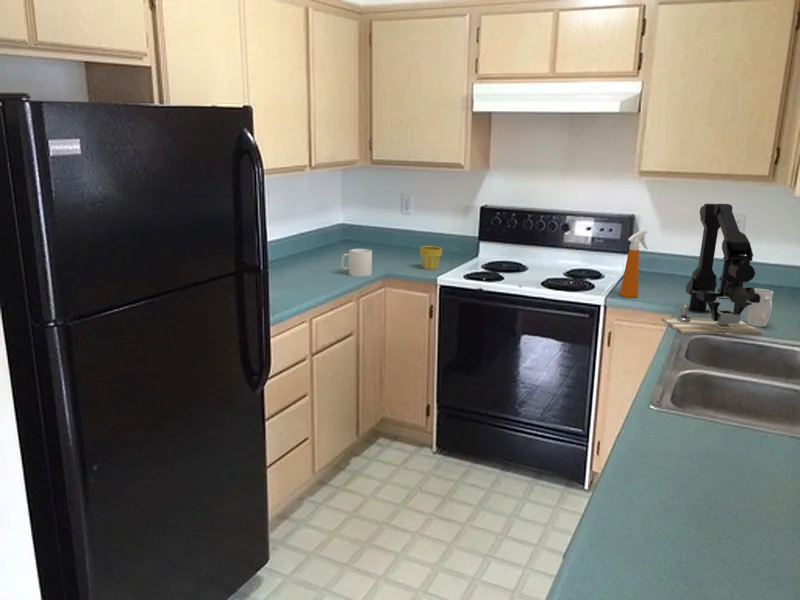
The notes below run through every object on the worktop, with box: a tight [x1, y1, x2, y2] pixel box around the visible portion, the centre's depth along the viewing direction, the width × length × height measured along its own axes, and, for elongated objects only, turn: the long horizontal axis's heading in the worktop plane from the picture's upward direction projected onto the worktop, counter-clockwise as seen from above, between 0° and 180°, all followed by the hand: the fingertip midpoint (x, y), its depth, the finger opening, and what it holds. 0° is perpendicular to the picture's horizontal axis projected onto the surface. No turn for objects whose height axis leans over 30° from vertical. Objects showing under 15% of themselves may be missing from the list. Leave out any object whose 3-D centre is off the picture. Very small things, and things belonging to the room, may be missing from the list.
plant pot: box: [419, 245, 443, 270], centre depth 308 cm, size 10×10×10 cm
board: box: [661, 317, 762, 335], centre depth 223 cm, size 15×27×1 cm, turn 93°
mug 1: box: [340, 248, 373, 277], centre depth 292 cm, size 14×10×11 cm
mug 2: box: [746, 288, 774, 328], centre depth 225 cm, size 10×7×12 cm, turn 1°
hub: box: [715, 323, 733, 330], centre depth 219 cm, size 5×5×4 cm
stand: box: [676, 304, 692, 322], centre depth 227 cm, size 4×4×6 cm
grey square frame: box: [710, 309, 741, 324], centre depth 219 cm, size 6×6×3 cm
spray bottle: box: [619, 229, 649, 299], centre depth 263 cm, size 7×11×26 cm, turn 117°
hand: (724, 321), depth 220 cm, fingers closed on grey square frame, 6 cm apart
